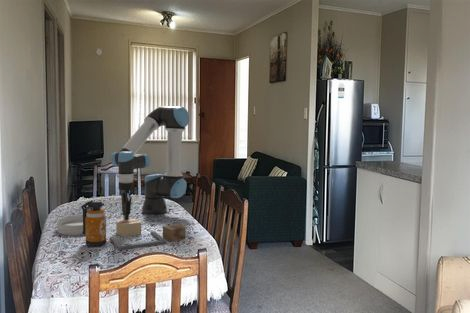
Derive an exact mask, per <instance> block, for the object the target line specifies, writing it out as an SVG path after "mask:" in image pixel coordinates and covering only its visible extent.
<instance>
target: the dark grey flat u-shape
mask: <svg viewBox="0 0 470 313" xmlns="http://www.w3.org/2000/svg"><path fill="white" fill-rule="evenodd" d="M150 235H151V236H152V237H154V238H155V239H156V240H154V241H153V240H152V241H147V242H139V243H133V244H126V245H122V244H121V243H120V241H119V240H118V239H117V238H116V236H115V235H112V236H109V240H110V241H111V242H112V244H113V245H114V246H115V248H116V249H117V250H118V251H124V250H125V251H126V250H131V249H139V248H144V247H146V248H147V247H152V246H159V245H165V244H167V240H166V239H164V238H163V236H161V235H160V234H159V233H158V232H157V231H155V230H151V231H150Z"/></svg>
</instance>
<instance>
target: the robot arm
mask: <svg viewBox="0 0 470 313" xmlns="http://www.w3.org/2000/svg"><path fill="white" fill-rule="evenodd" d="M189 123H190V114H189V112H188V110H187V108H185V106H179V105H174V106H172V105H171V106H168V105H163V106H159V107H156V108H155V109H153V110H152V111H151V112H150V113H149V114H147V116H146V117H145V118H144V120H143V123H142V124H141V125H140V127H138V129H137V130H136V131H135V133H134V134H133V135H131V137H130V138H129V139H128V140H127V142H126V143H124V146H122V148H121V149H120V150H119V151H114V152H113V153H111V155H110V157H109V160H110V163H111V164H112V166H115V167H117V168H118V175H117V178H118V190H119V191H122V192H121V193H120V197H121V212H122V220H129V219H130V215H131V208H132V195H131V194H132V193H131V191H132V190H134V188H135V185H134V180H135V176H134V175H135V174H134V170H138V169H144V168H148V167H149V166H150V165H151V158H150V156H149V154H147V153H137V152H138V151H139V150H140V149H141V148H142V146H143V145H144V144H145V142H147V140H148V139H149V137H150V136H151V135H153V133H154V131H157V130H159V128H161V127H163V126H164V129H165V130H166V133H167V138H166V139H167V140H166V164H165V167H166V168H165V172H164V173H153V174H147V175H145V177H144V201H143V204H142V207H141V212H142V213H143V214H146V215H147V214H148V215H158V214H165V213H167V212H168V207H167V205H166V201H165V197H167V198H173V199H179V198H182V196H184V195H185V193H186V190H187V187H188V186H187V184H188V183H187V180H185V179H184V174H183V173H182V172H181V168H182V148H183V146H182V145H183V144H182V143H183V142H182V141H183V140H182V139H183V132H184V131H185V130H186V127H187V126H188V125H189Z"/></svg>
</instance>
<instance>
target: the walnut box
mask: <svg viewBox="0 0 470 313" xmlns="http://www.w3.org/2000/svg"><path fill="white" fill-rule="evenodd" d="M186 228H187V227H186V226H183V225H181V224H180V223H179V224H178V223H173V224H168V225H167V224H166V225H162V238H163V239H165V240H166V241H168V242H171V243H173V242H177V241H179V242H180V241H183V240H186Z"/></svg>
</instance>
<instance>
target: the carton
mask: <svg viewBox="0 0 470 313" xmlns="http://www.w3.org/2000/svg"><path fill="white" fill-rule="evenodd" d="M115 226H116V227H115V229H116V230H115V232H116V234H117V235H119V236H120V237H121V238H123V237H128V236H134V235H136V236H137V235H141V234H142V222H141V221H140V220H139V219H137V218H131V219H130V218H129V220H123V219H122V220H117V221H115Z"/></svg>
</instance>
